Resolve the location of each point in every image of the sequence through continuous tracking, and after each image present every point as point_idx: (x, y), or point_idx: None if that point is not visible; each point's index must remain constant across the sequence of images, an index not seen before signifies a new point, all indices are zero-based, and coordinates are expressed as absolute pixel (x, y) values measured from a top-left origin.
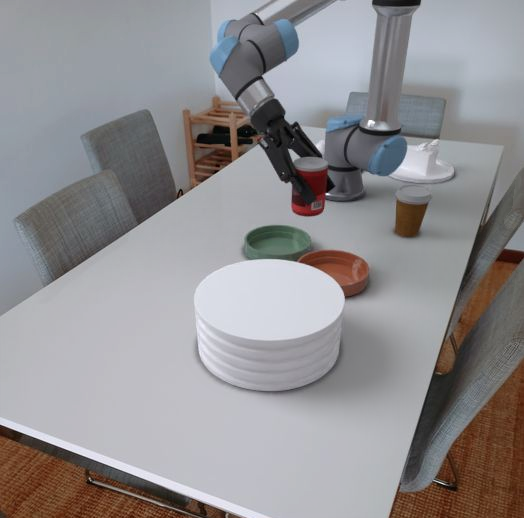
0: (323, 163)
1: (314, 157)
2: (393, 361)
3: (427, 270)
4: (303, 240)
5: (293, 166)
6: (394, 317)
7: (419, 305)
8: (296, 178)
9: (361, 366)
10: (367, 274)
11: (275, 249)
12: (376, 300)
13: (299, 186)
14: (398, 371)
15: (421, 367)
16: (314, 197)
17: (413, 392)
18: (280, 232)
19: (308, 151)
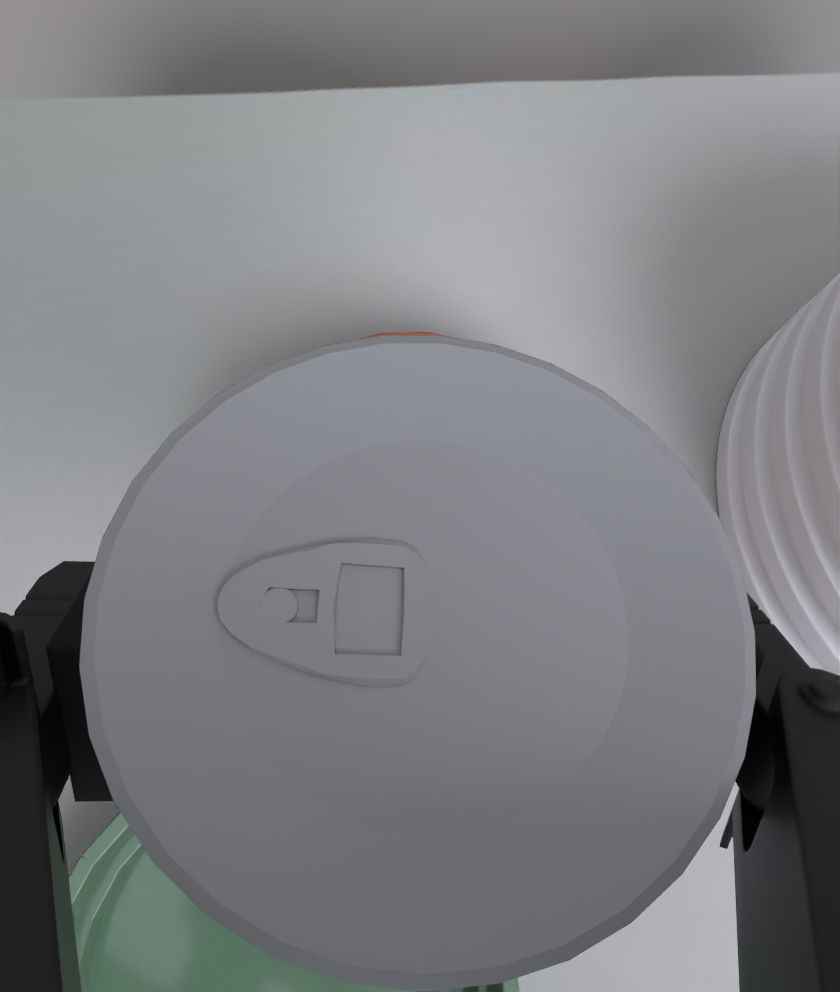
0: (297, 437)
1: (113, 700)
2: (750, 158)
3: (99, 200)
4: (132, 855)
5: (816, 777)
6: (530, 216)
7: (400, 166)
8: (772, 671)
9: (836, 224)
10: (395, 335)
11: (285, 986)
12: (461, 301)
13: (753, 608)
14: (780, 137)
15: (719, 93)
16: None
17: (827, 88)
18: None
19: (28, 899)
